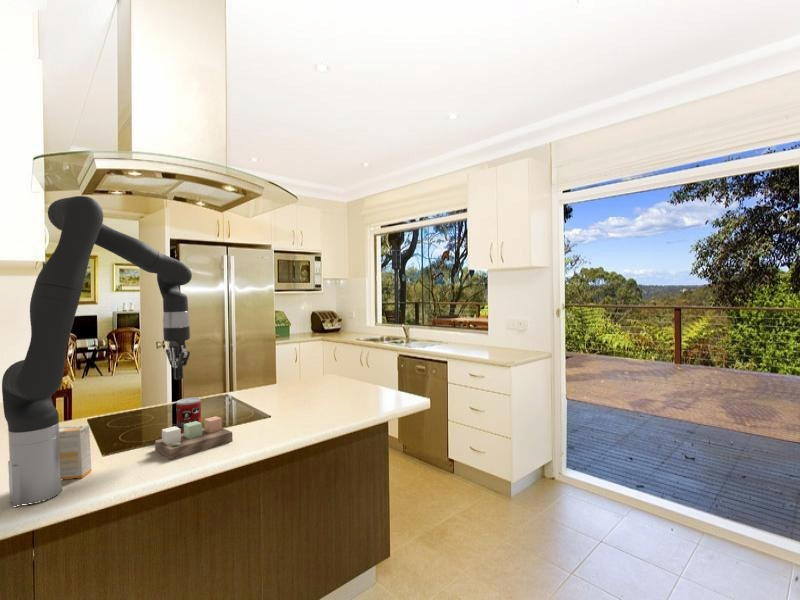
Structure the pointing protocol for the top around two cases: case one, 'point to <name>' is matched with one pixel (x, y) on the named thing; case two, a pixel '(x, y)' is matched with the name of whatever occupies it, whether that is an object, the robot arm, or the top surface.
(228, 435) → the button box
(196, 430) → the sage green button
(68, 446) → the supplement box
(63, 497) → the top surface
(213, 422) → the pink cube
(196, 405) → the canned food
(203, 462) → the top surface
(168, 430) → the off-white button
